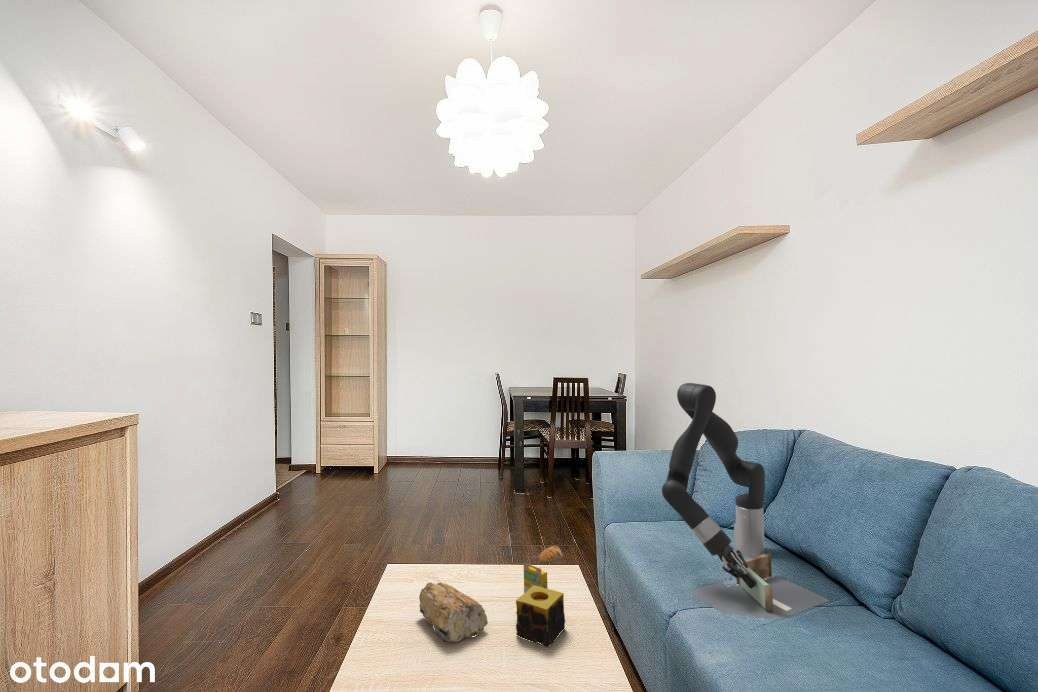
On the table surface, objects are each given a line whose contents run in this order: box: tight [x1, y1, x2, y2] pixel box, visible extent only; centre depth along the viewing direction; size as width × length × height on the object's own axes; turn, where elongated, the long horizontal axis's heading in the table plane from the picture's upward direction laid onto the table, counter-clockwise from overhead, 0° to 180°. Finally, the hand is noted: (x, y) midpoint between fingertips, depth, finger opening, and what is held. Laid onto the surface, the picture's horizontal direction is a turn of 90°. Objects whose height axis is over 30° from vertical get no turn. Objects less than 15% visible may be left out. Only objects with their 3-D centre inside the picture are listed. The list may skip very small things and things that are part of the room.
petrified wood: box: [418, 582, 489, 643], centre depth 141 cm, size 19×13×10 cm
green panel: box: [735, 567, 773, 612], centre depth 151 cm, size 18×2×7 cm, turn 4°
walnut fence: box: [744, 552, 773, 579], centre depth 162 cm, size 12×2×7 cm, turn 115°
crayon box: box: [523, 562, 549, 594], centre depth 152 cm, size 7×3×12 cm, turn 47°
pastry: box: [537, 545, 564, 564], centre depth 182 cm, size 9×7×4 cm
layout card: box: [688, 574, 831, 621], centre depth 151 cm, size 23×33×1 cm
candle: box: [515, 585, 566, 648], centre depth 136 cm, size 10×10×10 cm
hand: (754, 586), depth 147 cm, fingers closed
